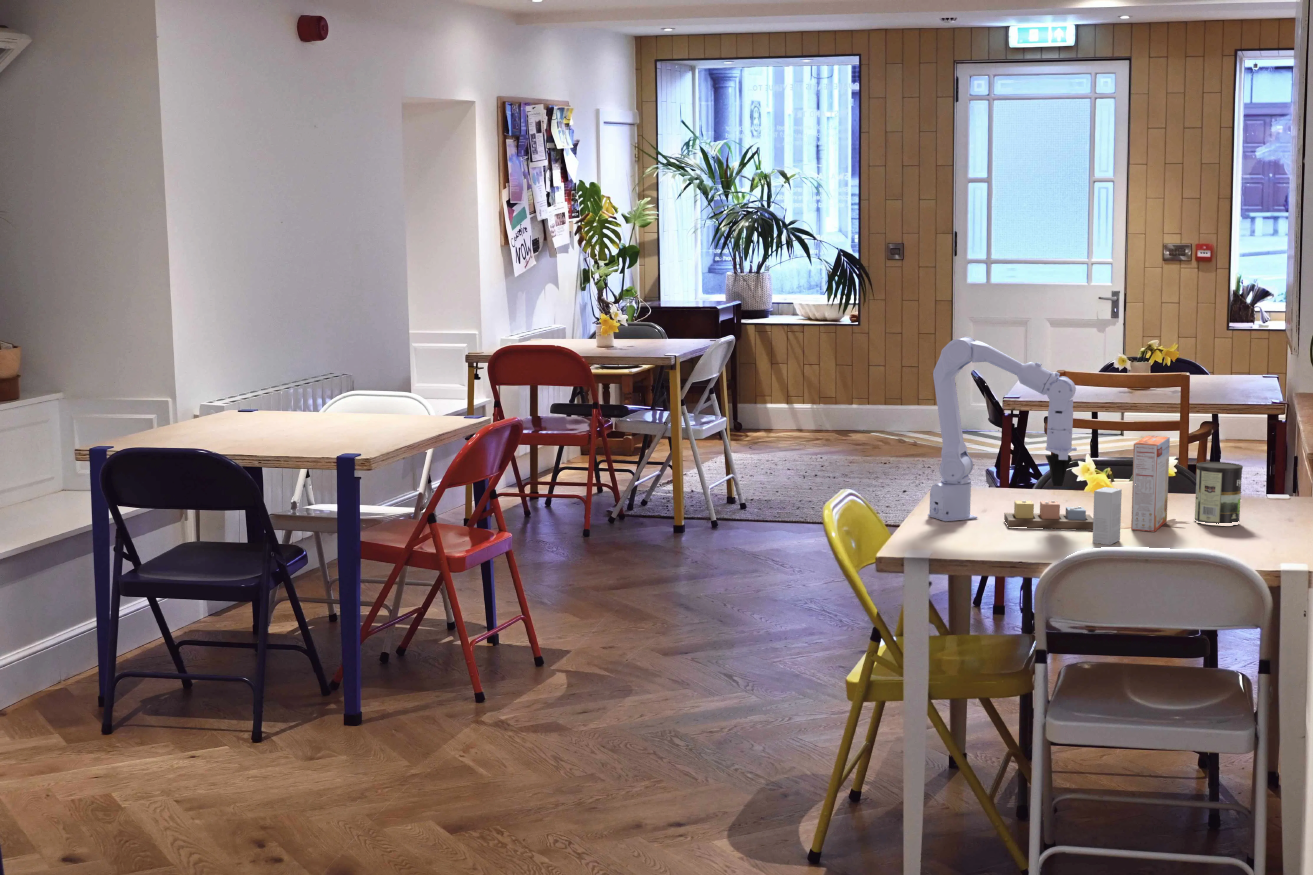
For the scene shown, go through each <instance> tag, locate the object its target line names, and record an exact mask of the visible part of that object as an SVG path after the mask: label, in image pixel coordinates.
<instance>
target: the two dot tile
mask: <svg viewBox="0 0 1313 875" xmlns="http://www.w3.org/2000/svg"><path fill="white" fill-rule="evenodd" d="M1060 508H1061V504H1060V503H1059V501H1056V500H1050V501H1049V500H1040V502H1039V513H1040V516H1041V518H1042V519H1059V517H1060V514H1061V512H1060V510H1061V509H1060Z"/></svg>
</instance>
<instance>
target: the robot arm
mask: <svg viewBox="0 0 1313 875" xmlns="http://www.w3.org/2000/svg"><path fill="white" fill-rule="evenodd" d="M971 362H972V363H984V362H985V363H988V364H991V365H993V366H995V367H996V368H1000V369H1002V370H1004V371H1006V372H1009V373H1010V374H1012V375H1015V376H1016V377H1017V379H1018V382H1019V384H1020V385H1023V386H1025V387H1027V388H1029V389H1031V390H1033V391H1035V392H1036V393H1039V394H1041V395H1042V396H1044V395H1046V396H1047V398H1048V399H1049V401H1048V409H1047V427H1046V446H1045V451H1047V452H1049V453H1052V454H1046V455H1045V458H1046V462H1047V464H1048V467H1049V473H1050V481H1051V484H1052V486H1053V487H1062V486H1063V484H1064V481H1065V476H1066V473H1067V470H1068V468H1069V466H1070V463H1071V462H1072V461H1073V458H1072V456H1071V455H1070V453H1072V452H1076V451H1077V450H1078V448H1077V447H1075V446H1072V445H1073V444H1072V443H1073V427H1074V424H1073V421H1074V409H1073V408H1074V399H1073V398H1074V396H1075V394H1076V391H1077V388H1076V384H1075V382H1074V381H1073V380H1072V379H1070V378H1069V377H1068V376H1065V375H1064V376H1063V375H1062V376H1060V375H1061V373H1060V372H1057V371H1056V372H1053V371H1051V370H1048V369H1047V368H1046V367H1043V366H1042V363H1040V362H1039V361H1036V362H1033V361H1030V362H1027V363H1022V362H1021V361H1019V360H1017V359H1015V358H1013V357H1011V356H1010V355H1009V354H1006V353H1004V352H1002V351H1000V350H999V349H997V348H996V347H993V346H991V345H989V344H987V343H985V342H984V341H980V340H976V339H975V338H972V337H970V336H963V337H960V338H956V339H953V340H951V341H949V342H948V343H947V344H946V345H945V346H944V347H943V348H942V349H941V352H940V355H939V358H938V360H937V362H936V365H935V367H934V368H933V372H932V374H933V375H932V376H933V383H934V392H935V397H936V398H935V399H936V404H937V405H936V406H937V414H938V420H939V426H940V434H941V440H942V447H941V456H940V457H941V462H940V465H939V474H940V476H941V478H940V481H939V482H938V483H934V484H932V486H931V487H930V490H929V491H930V492H929V513H928V514H927V516H928V517H931V518H934V519H937V520H940V521H943V522H952V521H954V522H955V521H964V520H974V519H975V520H976V519H978V516H977V515H974V514H971V501H972V500H971V497H972V494H971V492H972V489H971V487H972V479H971V478H970V476H969V475H970V474H971V473H972V471H973V467H974V462H973V459H972V457H971V456H970V455H969V453H968V448H967V445H966V443H965V441H964V435H963V434H964V433H963V428H962V421H961V415H960V407H959V406H960V405H959V400H958V393H957V385H956V377H957V376H958V374H959V373H960V372H961V370H963V369H964V367H965V366H967V365H968V364H971Z"/></svg>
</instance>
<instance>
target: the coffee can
mask: <svg viewBox="0 0 1313 875" xmlns="http://www.w3.org/2000/svg"><path fill="white" fill-rule="evenodd" d="M1195 467H1196V478H1195V479H1196V480H1195V483H1196V484H1195V502H1194V503H1195V504H1194V519H1195V520H1196V521H1198V522H1205V523H1216V524H1217V523H1218V524H1219V523H1232V522H1238V521H1239V522H1240V518H1241V517H1240V516H1241V495H1242V477H1243V476H1242V474H1243V469H1244V466H1243V465H1241V464H1240V463H1234V462H1233V463H1232V462H1225V461H1204V462H1203V461H1202V462H1198V463H1196V466H1195Z"/></svg>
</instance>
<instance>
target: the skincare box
mask: <svg viewBox="0 0 1313 875" xmlns="http://www.w3.org/2000/svg"><path fill="white" fill-rule="evenodd" d="M1122 495H1123V494H1122V488H1115V487H1106V486H1105V487H1104V486H1103V487H1102V488H1098V489H1096V490H1094V492H1093V517H1092V518H1093V530H1092V543H1093V542H1094V543H1093V544H1098V543H1101V544H1100V545H1106V546H1110V545H1111V546H1112V545H1113V544H1115V543H1118V542H1119V541H1120V540H1121V525H1122V524H1121V520H1122V519H1121V518H1122V516H1121V515H1122V514H1121V513H1122Z"/></svg>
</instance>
